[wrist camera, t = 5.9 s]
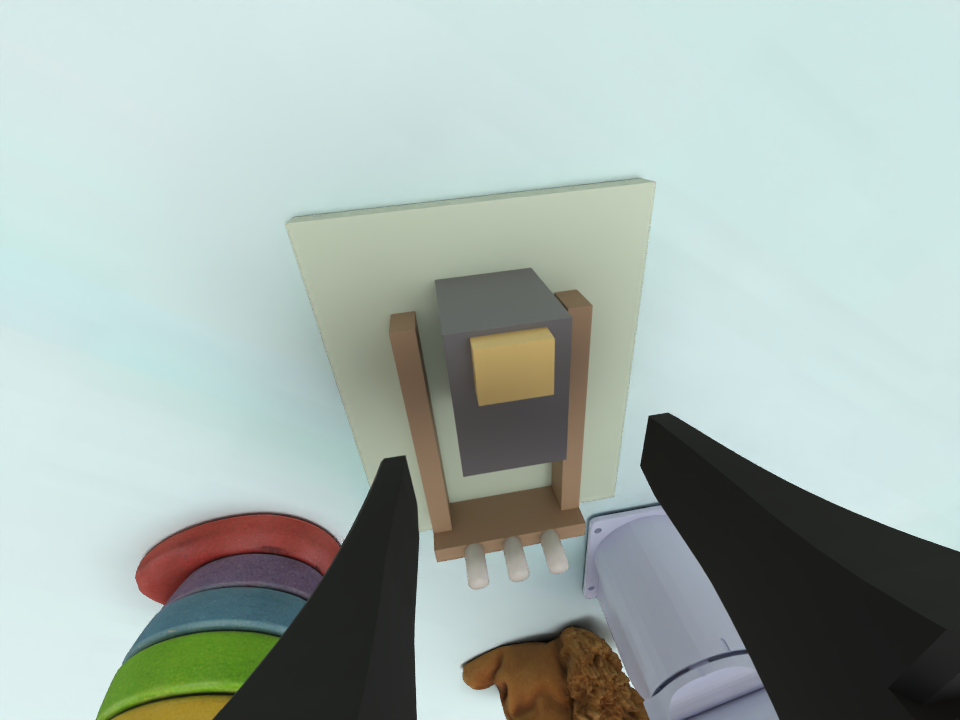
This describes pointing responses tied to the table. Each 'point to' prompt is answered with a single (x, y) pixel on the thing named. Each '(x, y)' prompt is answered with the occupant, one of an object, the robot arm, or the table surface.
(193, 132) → the table surface
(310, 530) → the stacking bear
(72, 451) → the table surface
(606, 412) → the board
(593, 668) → the brown teddy bear
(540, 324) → the plug block
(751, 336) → the table surface
